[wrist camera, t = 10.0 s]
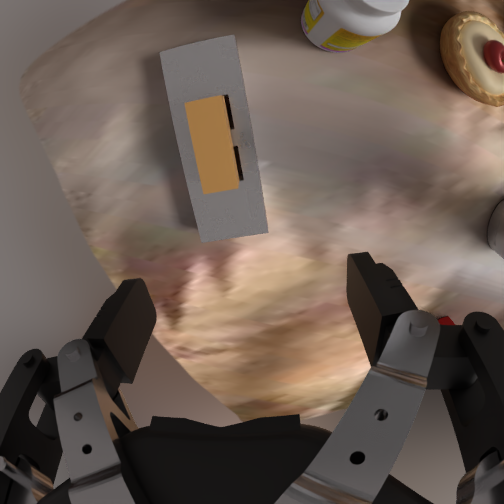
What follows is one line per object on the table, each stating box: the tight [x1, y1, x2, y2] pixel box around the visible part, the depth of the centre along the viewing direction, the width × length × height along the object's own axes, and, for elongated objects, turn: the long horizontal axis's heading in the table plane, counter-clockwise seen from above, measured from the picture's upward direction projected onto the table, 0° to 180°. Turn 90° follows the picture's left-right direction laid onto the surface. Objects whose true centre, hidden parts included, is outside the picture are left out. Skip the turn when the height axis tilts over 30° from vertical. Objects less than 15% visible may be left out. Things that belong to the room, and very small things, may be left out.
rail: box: [159, 35, 268, 243], centre depth 26 cm, size 7×20×3 cm, turn 9°
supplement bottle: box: [301, 0, 409, 53], centre depth 16 cm, size 7×7×13 cm
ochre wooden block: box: [184, 95, 239, 194], centre depth 25 cm, size 3×8×6 cm, turn 9°
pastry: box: [440, 11, 504, 107], centre depth 17 cm, size 12×12×9 cm
